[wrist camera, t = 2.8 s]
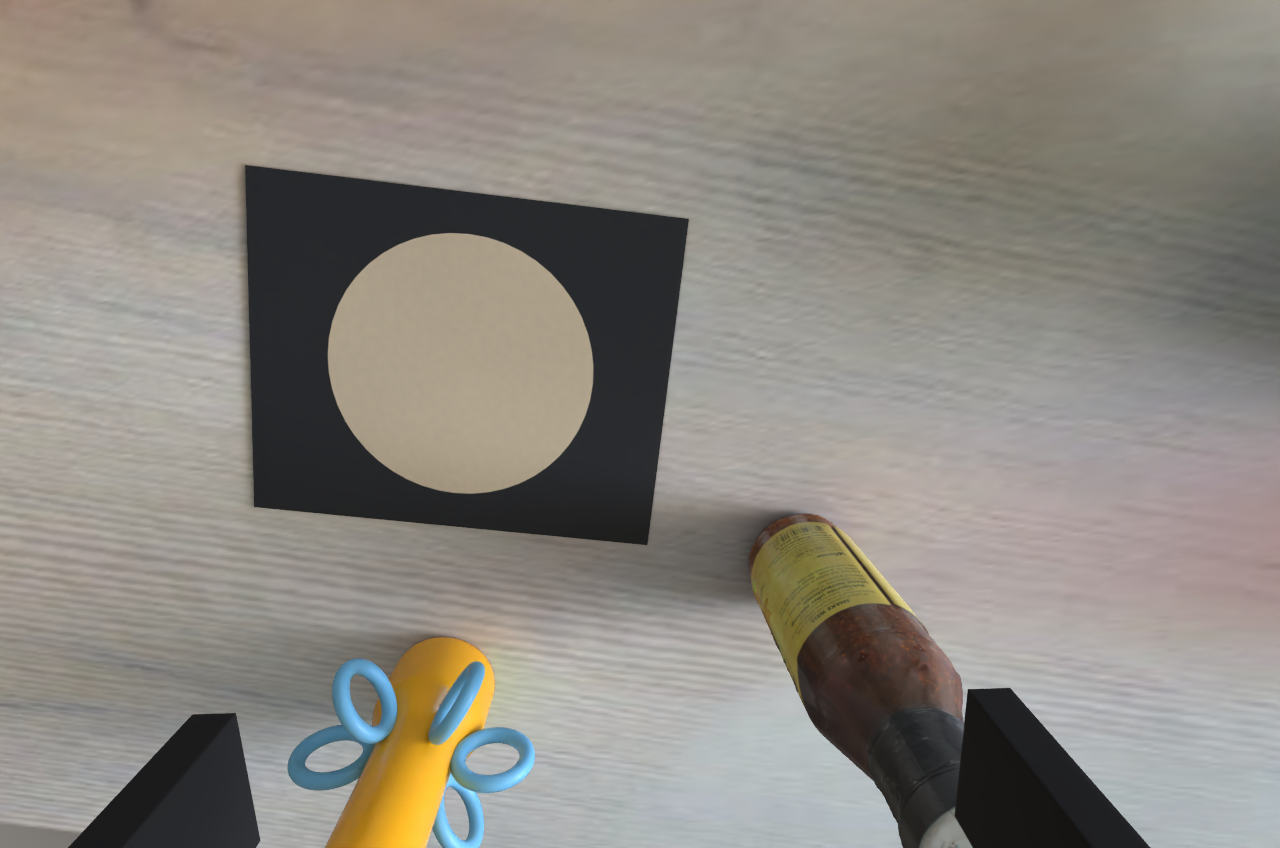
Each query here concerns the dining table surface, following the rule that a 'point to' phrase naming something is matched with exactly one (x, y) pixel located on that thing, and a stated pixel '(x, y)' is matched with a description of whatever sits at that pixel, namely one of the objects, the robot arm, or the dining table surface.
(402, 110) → the dining table surface
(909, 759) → the sauce bottle
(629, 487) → the mat
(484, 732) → the cylinder
